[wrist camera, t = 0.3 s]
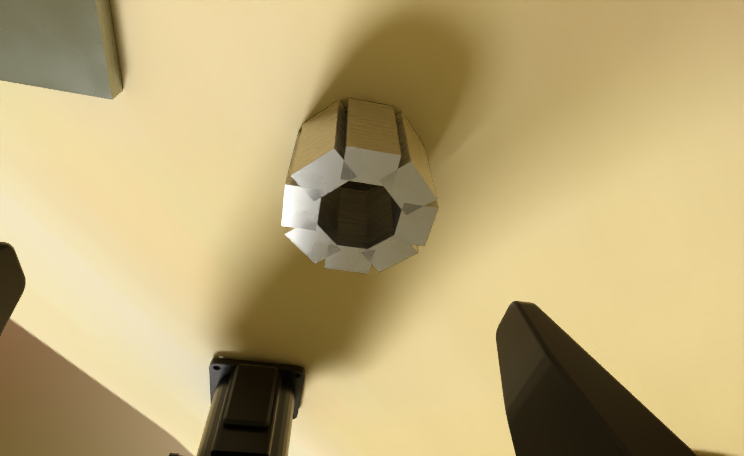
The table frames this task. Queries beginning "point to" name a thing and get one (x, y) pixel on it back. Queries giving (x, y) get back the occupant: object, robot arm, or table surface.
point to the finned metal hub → (60, 46)
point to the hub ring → (357, 207)
